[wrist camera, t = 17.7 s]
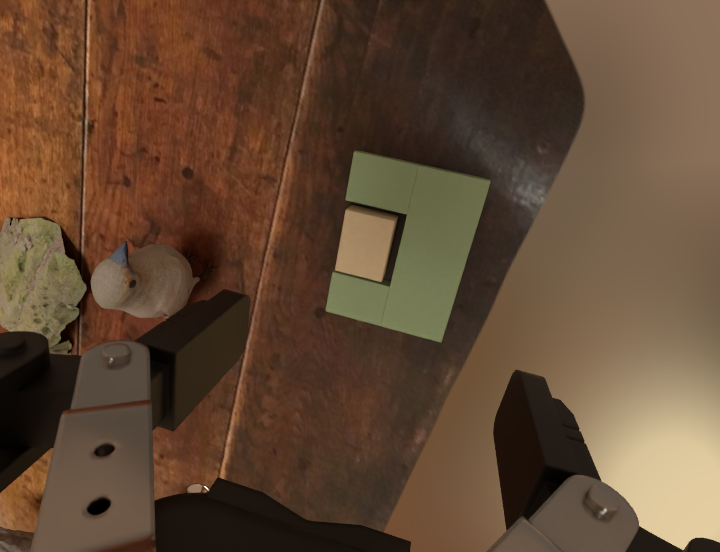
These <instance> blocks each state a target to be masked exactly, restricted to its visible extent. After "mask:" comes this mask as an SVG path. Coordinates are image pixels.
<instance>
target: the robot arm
mask: <svg viewBox="0 0 720 552" xmlns="http://www.w3.org/2000/svg"><path fill="white" fill-rule="evenodd" d="M249 309H250V298H249V296H248V295H244V294H240V293H237V292H233V291H229V290H225V289H224V290H222V291H221V292H219V293H218V294H217V295H215V296H214V297H212V298H211V299H210V300H208V301H206V300H201V301H198V302H195V303H192V304H189V305H186V306H185V307H183V308H182V309H181V310H179V311H178V312H176V314H175V315H174V314H173V315H172V316H170V317H169V318H167V319H166V321H163V322H162V323H160V324H159V325H157V326H156V327H154V328H153V329H151V330H150V331H148V332H147V333H145V334H144V335H143V336H141V337H140V338H138V339H137V340H135V341H130V340H114V341H108V342H104V343H100V344H98V345H95V346H93V347H91V348H90V349H88V350H87V351H86V352H85V353H84V354H83V355H82V356H78V355H64V354H50V352H49V343H48V339H47V338H46V337H45V336H44V335H42V334H39V333H36V332H30V331H13V332H5V333H0V493H1V492H2V491H3V490H4V489H5V488H6V487H7V486H8V485H10V484H11V483H12V482H13V481H14V480H15V479H16V478H18V477H19V476H20V475H21V474H22V473H23V472H24V471H25V470H27V469H28V468H29V467H30V466H31V465H32V464H33V463H35V462H36V461H37V460H38V459H39V458H40V457H41V456H42V455H44V454H45V453H46V452H47V451H48V450H49V449H50V448H54V449H53V453H52V458H51V462H50V467H49V471H48V475H47V480H46V484H45V488H44V493H43V497H42V502H41V506H40V510H39V515H38V519H37V523H36V528H35V532H34V537H33V541H32V545H31V550H30V552H410V545H411V542H410V541H407V540H404V539H401V538H398V537H395V536H392V535H389V534H386V533H383V532H380V531H377V530H374V529H371V528H368V527H365V526H362V525H352V524H340V523H328V522H316V521H309V520H306V519H304V518H302V517H300V516H299V515H297V514H296V513H294V512H293V511H291V510H289V509H288V508H286V507H285V506H283V505H282V504H280V503H279V502H277V501H275V500H274V499H272V498H271V497H269V496H268V495H266V494H265V493H263V492H260V491H257V490H254V489H251V488H248V487H245V486H242V485H239V484H236V483H233V482H230V481H227V480H224V479H221V478H217V479H216V481H215V482H214V484H213V485H212V487H211V488H210V490H209V491H208V493H204V492H198V493H184V494H177V495H173V496H168V497H164V498H161V499H158V500H155V501H154V470H153V434H152V431H153V430H154V429H155V428H156V427H157V426H159V427H162V428H165V429H168V430H171V431H174V430H175V429H176V428H177V427H178V426H179V425H180V424H181V423H182V422H183V420H184V419H185V418H186V417H187V416H188V415H189V414H190V413H191V412H192V410H193V409H194V408H195V407H196V406H197V405H198V404H199V403H200V402H201V401H202V399H203V398H204V397H205V396H206V395H207V394H208V393H209V392H210V391H211V389H212V388H213V387H214V386H215V385H216V384H217V383H218V382H219V381H220V380H221V378H222V377H223V376H224V375H225V374H226V373H227V372H228V371H229V370H230V368H231V367H232V366H233V365H234V364H235V363H236V362H237V361H238V359H239V358H240V357H241V355H242V353H243V350H244V348H245V344H246V339H247V329H248V319H249ZM493 434H494V443H495V450H496V457H497V465H498V471H499V479H500V486H501V494H502V500H503V508H504V516H505V523H506V530H507V531H506V532H505V533H504V534H503V535H502V536H501V537H500V538H499V539H498V540H497V542H495V543H494V544H493V546H491V548H490V549H489V550H488V551H487V552H720V543H719V542H716V541H714V540H710V539H706V538H695V539H692V540H691V541H690V542H689V543H688V545H687V546H686V547H685V549H684V550H681V549H680V548H678V547H676V546H674V545H672V544H670V543H668V542H666V541H665V540H663V539H661V538H659V537H657V536H656V535H654V534H652V533H650V532H648V531H646V530H645V529H643V528H641V527H640V526H639V522H638V518H637V515H636V513H635V512H634V510H633V508H632V507H631V506H630V504H629V503H628V502H627V501H626V500H625V499H624V498H623V497H622V496H621V495H620V494H619V493H618V492H617V491H615V490H614V489H613V488H611V487H610V486H608V485H607V484H605V483H603V482H602V481H601V479H600V476H599V474H598V472H597V470H596V467H595V465H594V462H593V460H592V457H591V455H590V453H589V450H588V448H587V446H586V444H585V443H584V438H583V436H582V434H581V432H580V431H579V427H578V424H577V422H576V420H575V417H574V415H573V414H572V412H571V411H570V410H569V409H568V408H567V407H566V406H565V405H564V403H563V402H562V401H561V400H559V399H555V398H552V396H551V393H550V391H549V388H548V385H547V382H546V380H545V378H544V377H542V376H538V375H534V374H531V373H527V372H523V371H520V370H515V371H514V372H513V374H512V376H511V379H510V381H509V384H508V386H507V389H506V391H505V394H504V396H503V399H502V401H501V404H500V406H499V409H498V411H497V414H496V418H495V422H494V432H493Z"/></svg>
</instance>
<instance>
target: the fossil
mask: <svg viewBox="0 0 720 552" xmlns="http://www.w3.org/2000/svg"><path fill="white" fill-rule="evenodd" d="M33 537H34V533H32V532H24V531H20V530H16V531H14V530H10V529H5V528H2V527H0V552H30V550H31V545H32V541H33Z"/></svg>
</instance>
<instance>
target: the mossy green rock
mask: <svg viewBox="0 0 720 552" xmlns="http://www.w3.org/2000/svg"><path fill="white" fill-rule="evenodd" d="M1 230H2V231H1V232H0V324H1V326H2V327H3V328H5V329H7V330H9V331H11V332H13V331H30V332H36V333H39V334H42V335H44V336H45V337H46V338H47V339H48V343H49V352H50V354H64V355H72V354H71V352H70V353H67V352H68V350H70V349H71V346H72V344H71V343H70V342H69V340H66V341H63V342H61V343H58V342H59V341H60V340H61V337H60V333H61V331H62V330H64V329H65V326H66V325H67V324H68V323H70V322H71V321H73V320H75V319H76V318H77V316H78V315H79V308H77V307H75V306H77V304H78V302H79V301H80V300H81V298H82V297H83V295H84V293H85V291H86V289H87V287H86V284H85V283H84V282H83V281H82V278H81V276H80V273H79V270H78V269H77V266H76V264H75V262H74V260H72V259H70V258H68V257H67V256H66V255H65V249H64V245H63V239H62V237H61V229H60V226H59V225H58V224H56V223H53V222H51V221H48V220H44V219H43V218H33V219H20V221H19V224H18V219H15V218H13V220H12V222H11V226H10V218H6V219H5V222H4V224H3V226H2V229H1Z"/></svg>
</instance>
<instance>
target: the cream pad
mask: <svg viewBox="0 0 720 552" xmlns="http://www.w3.org/2000/svg"><path fill="white" fill-rule="evenodd" d="M397 220H398V215H395V214H390V213H386V212H382V211H377V210H373V209H369V208H364V207H360V206H356V205H351V206H350V207H349V208H347V209H346V211H345V216H344V222H343V227H342V233H341V239H340V244H339V250H338V256H337V261H336V267H335V270H336V271H340V272H344V273H348V274H352V275H355V276H359V277H363V278H367V279H371V280H375V281H379V282H382V280H383V278H384V275H385V273H386V269H387V264H388V260H389V255H390V251H391V247H392V242H393V238H394V233H395V229H396V225H397Z"/></svg>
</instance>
